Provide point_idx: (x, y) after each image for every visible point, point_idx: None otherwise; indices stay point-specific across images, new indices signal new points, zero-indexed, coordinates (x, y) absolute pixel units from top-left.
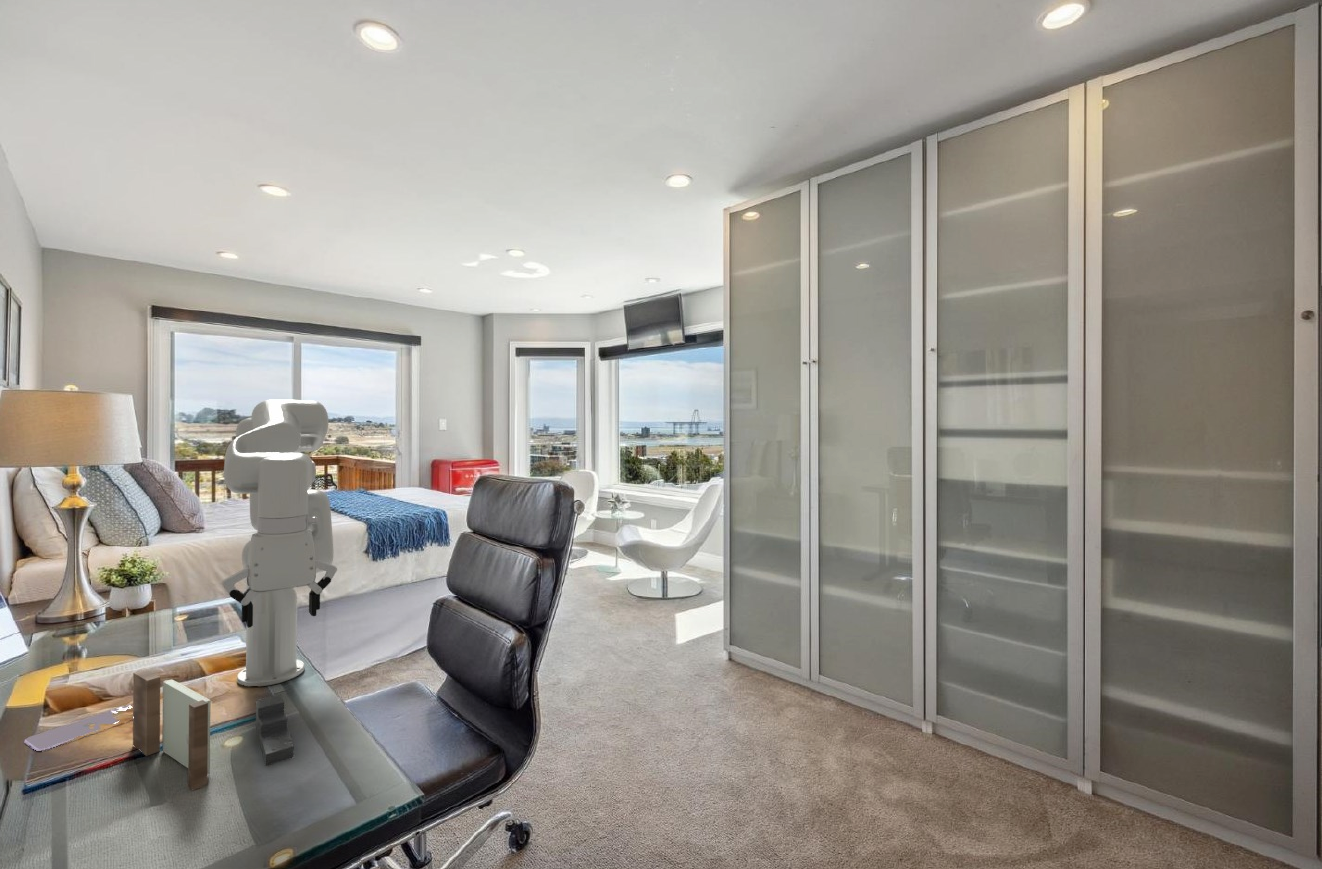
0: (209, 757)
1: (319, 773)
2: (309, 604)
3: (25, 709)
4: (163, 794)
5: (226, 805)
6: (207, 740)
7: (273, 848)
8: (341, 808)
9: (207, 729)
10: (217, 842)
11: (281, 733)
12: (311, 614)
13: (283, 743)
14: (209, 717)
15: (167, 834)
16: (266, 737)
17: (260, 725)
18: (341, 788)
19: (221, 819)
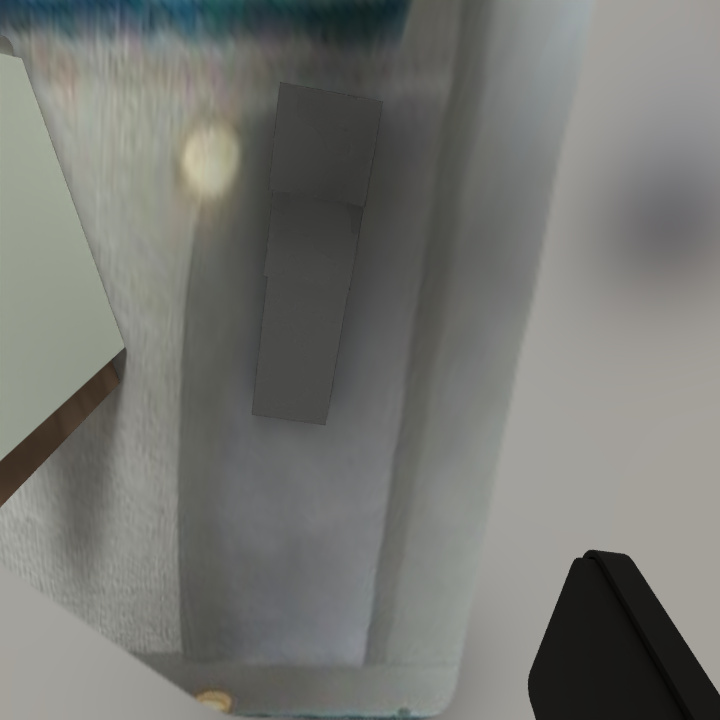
0: (103, 366)
1: (348, 524)
2: (610, 657)
3: None
4: None
5: (151, 504)
6: (57, 446)
7: (205, 680)
8: (334, 660)
9: (36, 467)
10: (125, 607)
11: (321, 317)
12: (534, 682)
13: (307, 387)
14: (31, 428)
15: (41, 522)
16: (277, 310)
17: (264, 269)
18: (361, 606)
19: (137, 545)
